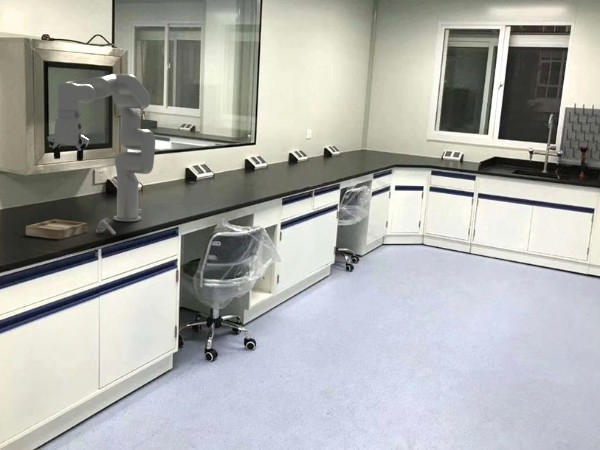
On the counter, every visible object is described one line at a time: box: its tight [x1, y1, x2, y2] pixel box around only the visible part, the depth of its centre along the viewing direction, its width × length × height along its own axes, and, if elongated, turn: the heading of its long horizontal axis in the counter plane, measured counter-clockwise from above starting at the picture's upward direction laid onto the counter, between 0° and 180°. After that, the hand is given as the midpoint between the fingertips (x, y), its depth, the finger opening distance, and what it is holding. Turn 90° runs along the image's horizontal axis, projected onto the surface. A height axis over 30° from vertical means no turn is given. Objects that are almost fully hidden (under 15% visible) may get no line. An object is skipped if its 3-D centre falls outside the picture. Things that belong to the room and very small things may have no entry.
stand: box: [96, 217, 117, 236], centre depth 251 cm, size 8×5×8 cm
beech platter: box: [25, 219, 88, 240], centre depth 247 cm, size 18×16×4 cm
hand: (68, 159), depth 234 cm, fingers open, 9 cm apart
